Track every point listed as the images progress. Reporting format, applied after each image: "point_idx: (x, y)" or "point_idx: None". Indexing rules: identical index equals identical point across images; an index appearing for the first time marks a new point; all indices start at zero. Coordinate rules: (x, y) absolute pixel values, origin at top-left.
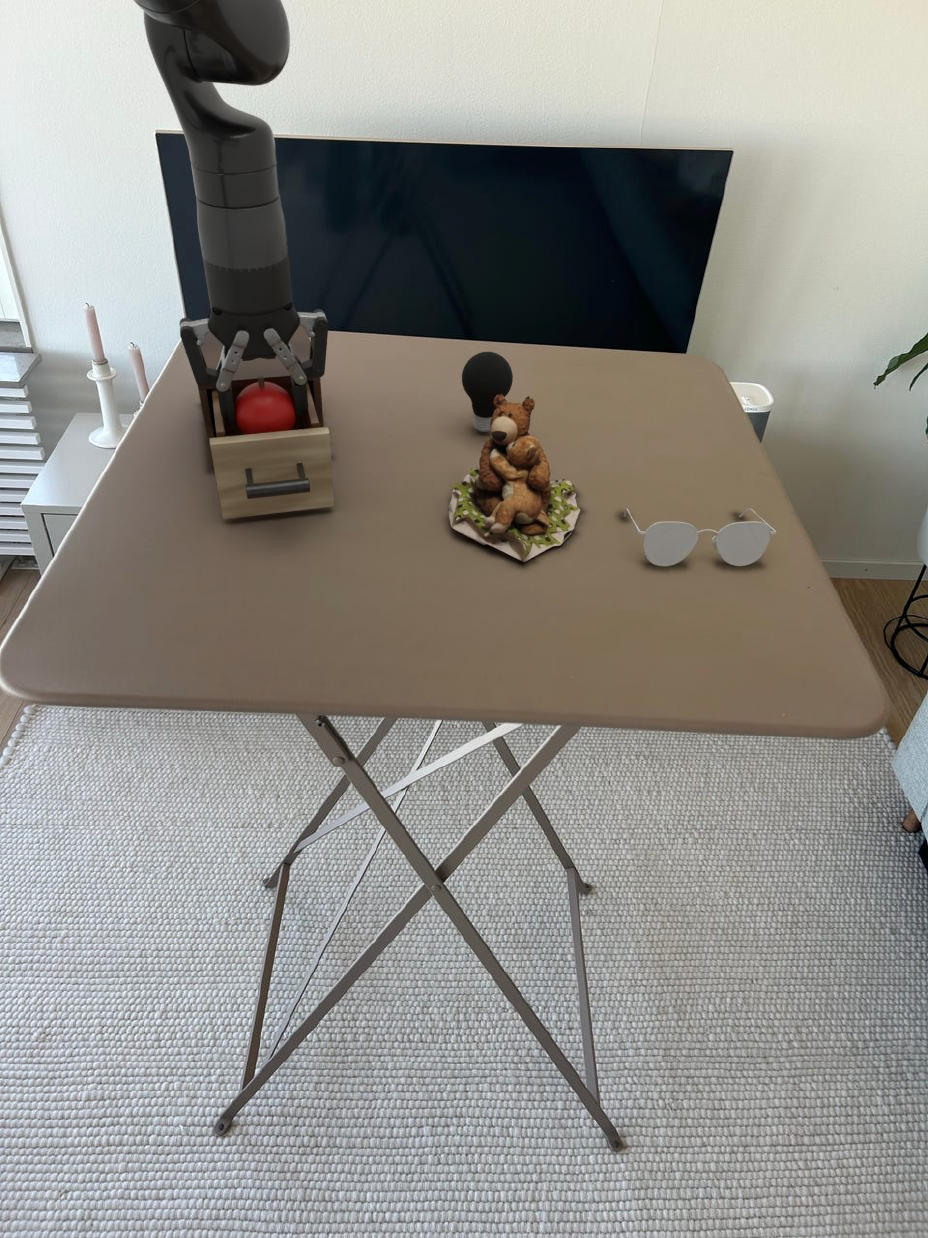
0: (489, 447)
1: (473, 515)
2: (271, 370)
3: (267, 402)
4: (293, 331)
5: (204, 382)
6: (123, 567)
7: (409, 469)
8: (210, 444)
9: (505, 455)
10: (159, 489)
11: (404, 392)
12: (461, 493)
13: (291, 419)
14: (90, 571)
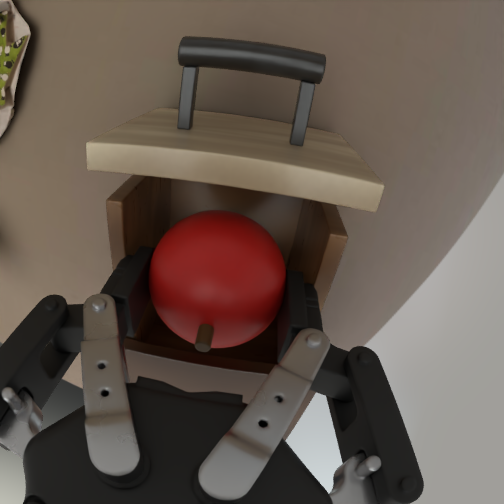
0: None
1: (2, 44)
2: (181, 375)
3: (205, 273)
4: (51, 428)
5: (361, 355)
6: (472, 111)
7: (55, 185)
8: (384, 185)
9: None
10: (385, 249)
11: None
12: (1, 90)
13: (164, 235)
14: (499, 125)
